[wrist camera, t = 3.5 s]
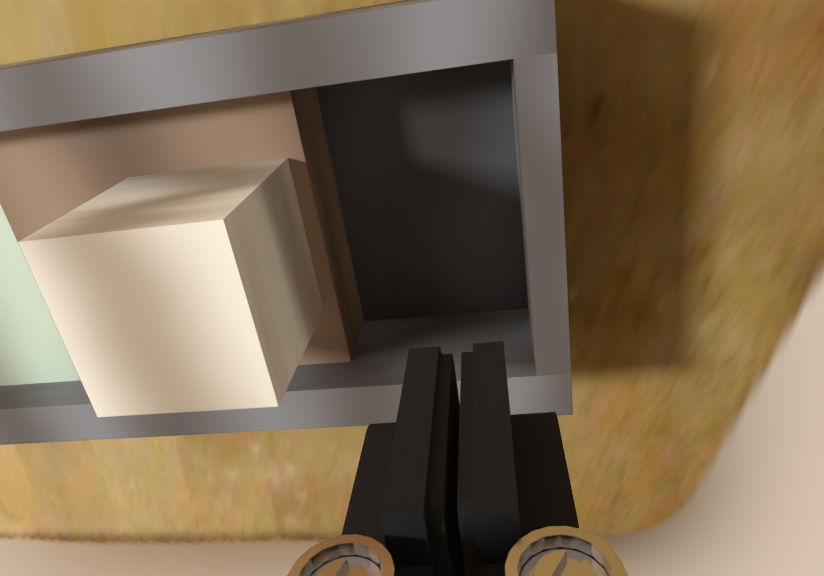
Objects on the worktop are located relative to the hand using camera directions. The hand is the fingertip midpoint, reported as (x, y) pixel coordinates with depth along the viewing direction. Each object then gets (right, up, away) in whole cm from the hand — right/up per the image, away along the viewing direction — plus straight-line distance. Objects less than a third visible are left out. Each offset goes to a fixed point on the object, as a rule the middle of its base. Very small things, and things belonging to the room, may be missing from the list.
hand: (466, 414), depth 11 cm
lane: (-9, +5, +11) cm, 15 cm away
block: (-7, +4, +8) cm, 11 cm away
